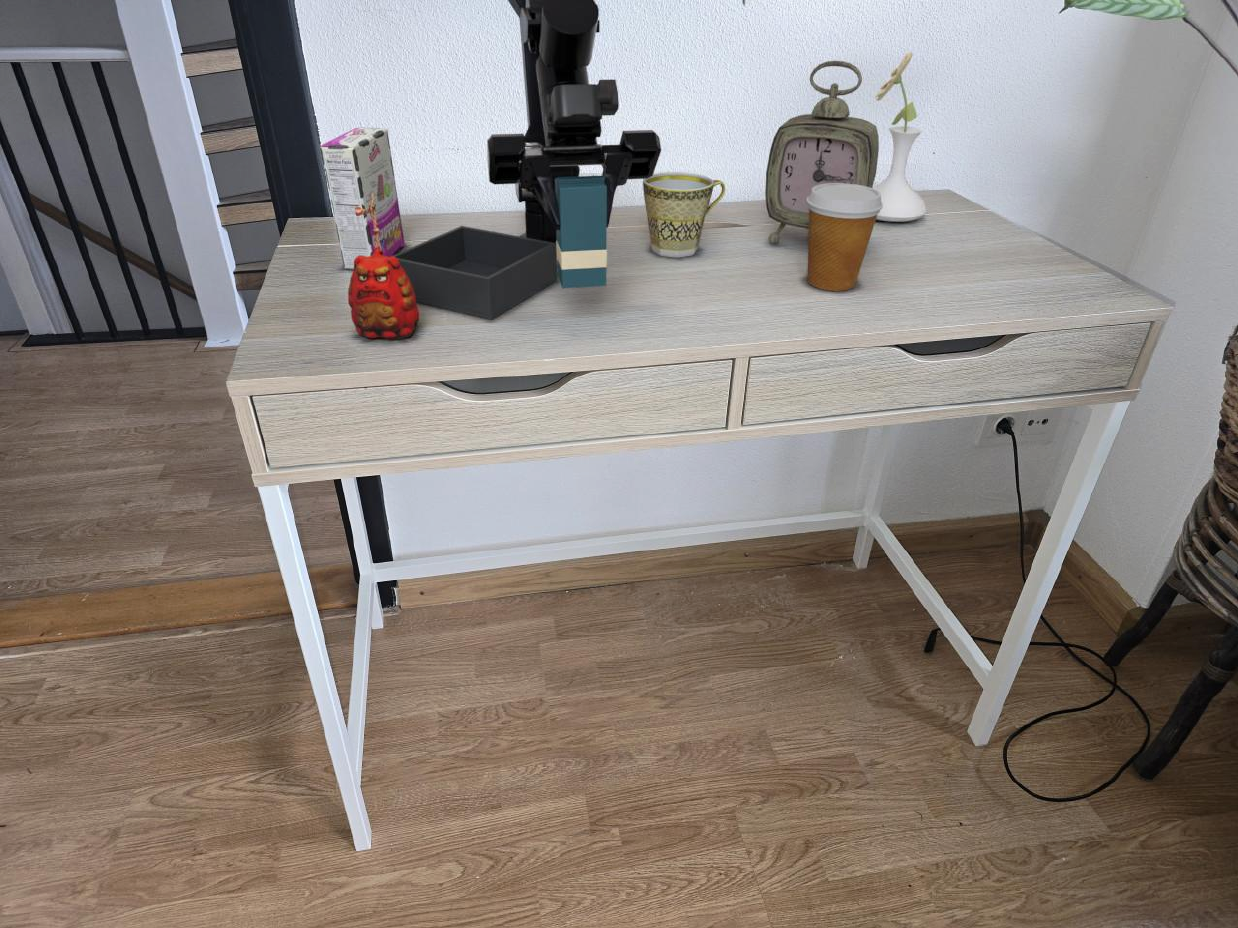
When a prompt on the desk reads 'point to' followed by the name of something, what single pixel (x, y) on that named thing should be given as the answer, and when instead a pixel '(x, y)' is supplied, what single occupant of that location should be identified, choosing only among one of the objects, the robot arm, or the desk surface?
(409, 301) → the red clay folk toy
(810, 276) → the disposable coffee cup
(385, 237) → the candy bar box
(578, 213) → the teal gift box
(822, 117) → the tabletop clock
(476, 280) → the dark grey open box
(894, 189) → the flower in vase
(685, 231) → the ceramic cup
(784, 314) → the desk surface
